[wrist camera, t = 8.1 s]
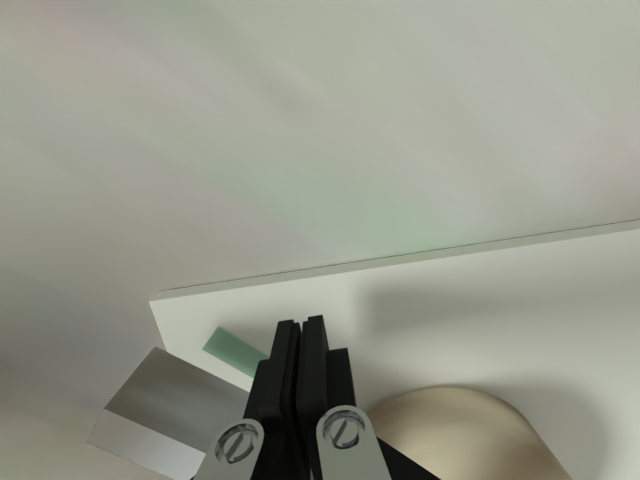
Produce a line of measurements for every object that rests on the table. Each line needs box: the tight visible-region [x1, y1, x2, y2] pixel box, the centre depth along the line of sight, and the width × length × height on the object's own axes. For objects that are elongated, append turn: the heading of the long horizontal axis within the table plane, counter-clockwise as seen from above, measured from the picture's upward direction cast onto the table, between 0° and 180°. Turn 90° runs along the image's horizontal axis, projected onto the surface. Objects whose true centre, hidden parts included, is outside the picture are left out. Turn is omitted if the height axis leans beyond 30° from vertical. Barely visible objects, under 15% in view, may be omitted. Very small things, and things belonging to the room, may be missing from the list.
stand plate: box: [149, 220, 640, 480], centre depth 17 cm, size 24×24×1 cm
